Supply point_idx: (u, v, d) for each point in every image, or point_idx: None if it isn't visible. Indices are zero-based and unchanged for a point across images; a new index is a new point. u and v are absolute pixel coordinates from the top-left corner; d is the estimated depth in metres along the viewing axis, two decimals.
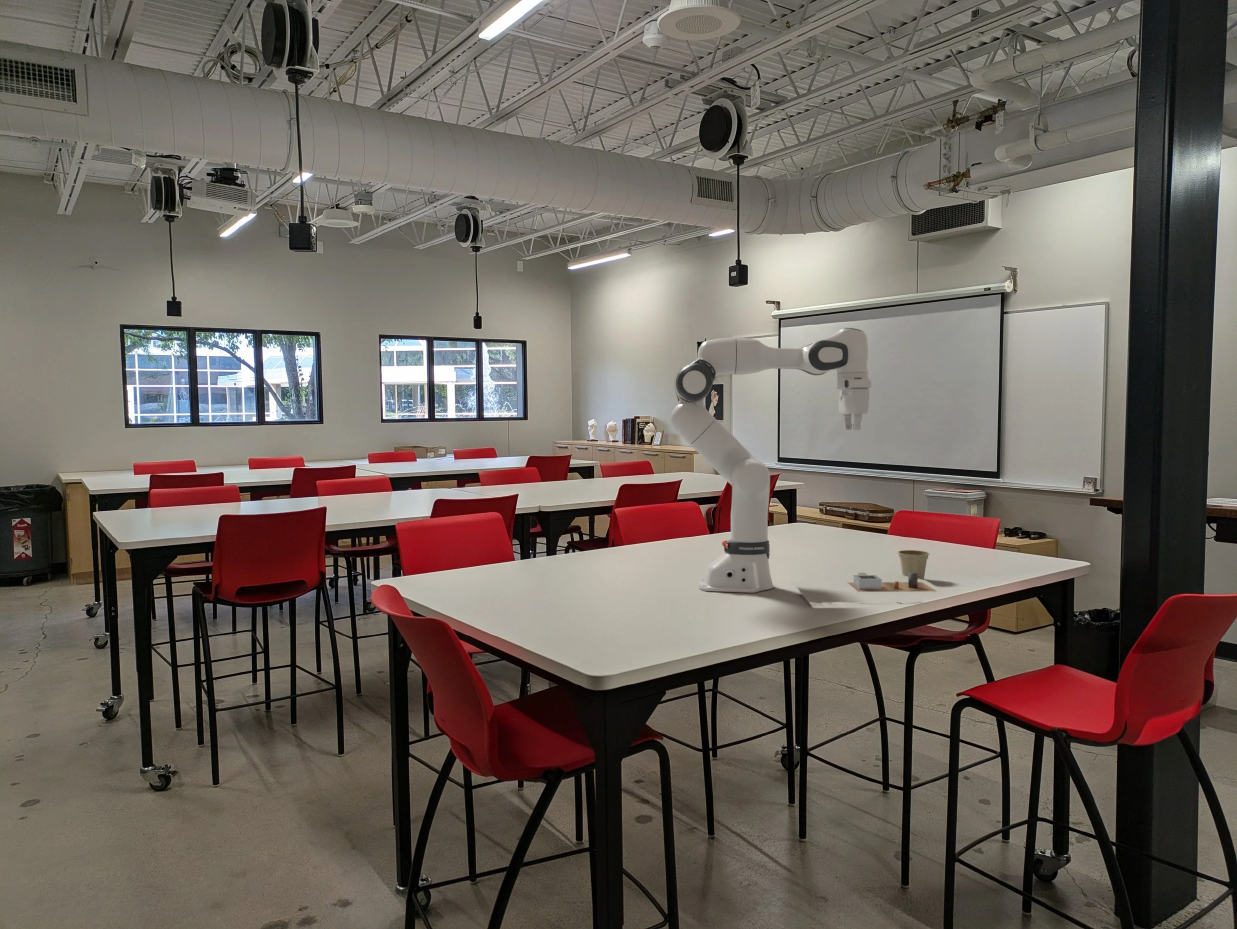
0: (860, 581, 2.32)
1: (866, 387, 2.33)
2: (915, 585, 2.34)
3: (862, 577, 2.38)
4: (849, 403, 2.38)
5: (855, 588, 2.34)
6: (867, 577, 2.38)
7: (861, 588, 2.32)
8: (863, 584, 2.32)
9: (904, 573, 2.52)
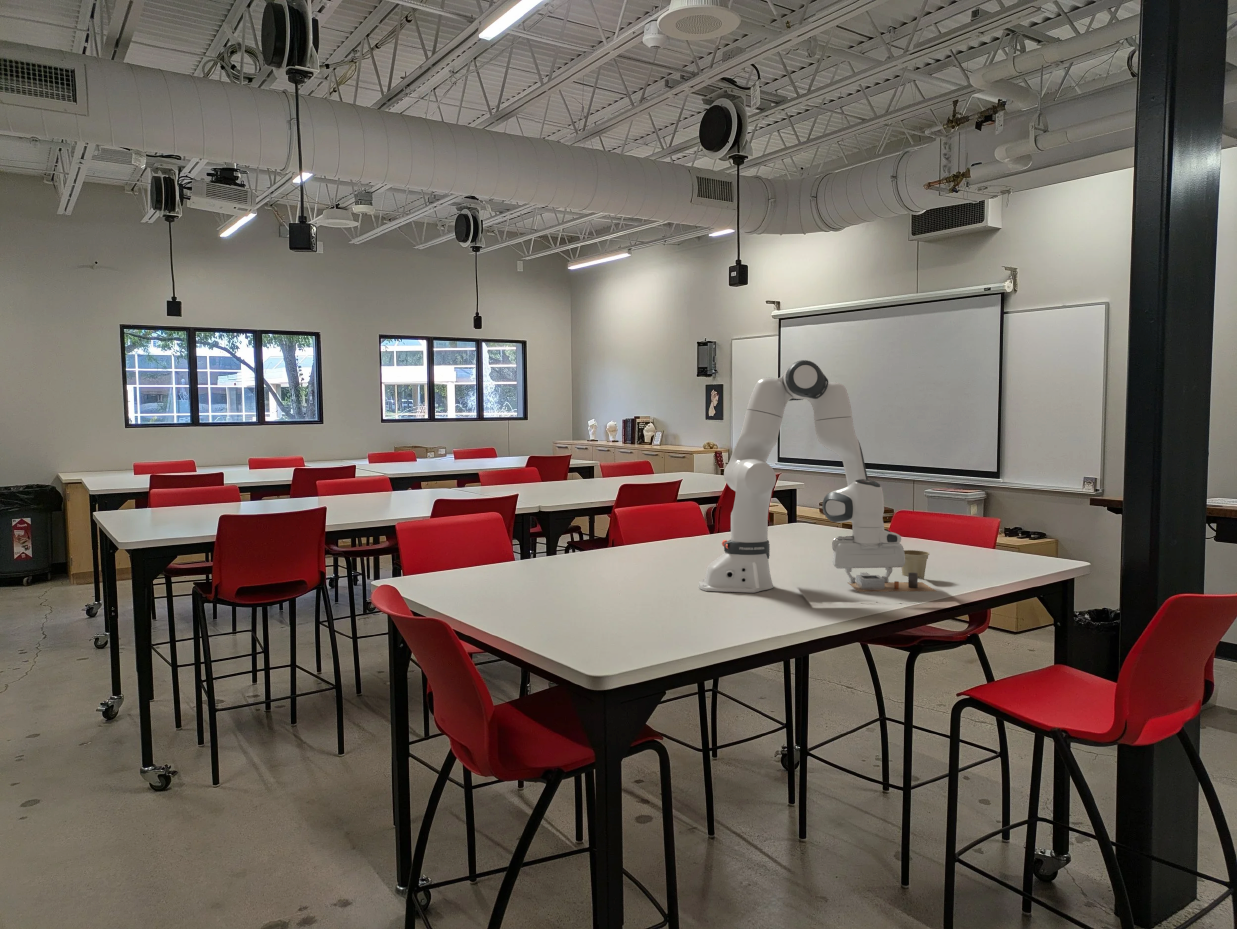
0: (863, 581, 2.32)
1: None
2: (915, 585, 2.34)
3: (865, 577, 2.38)
4: (881, 557, 2.34)
5: (855, 588, 2.34)
6: (870, 577, 2.38)
7: (864, 588, 2.32)
8: (866, 584, 2.32)
9: (904, 573, 2.52)
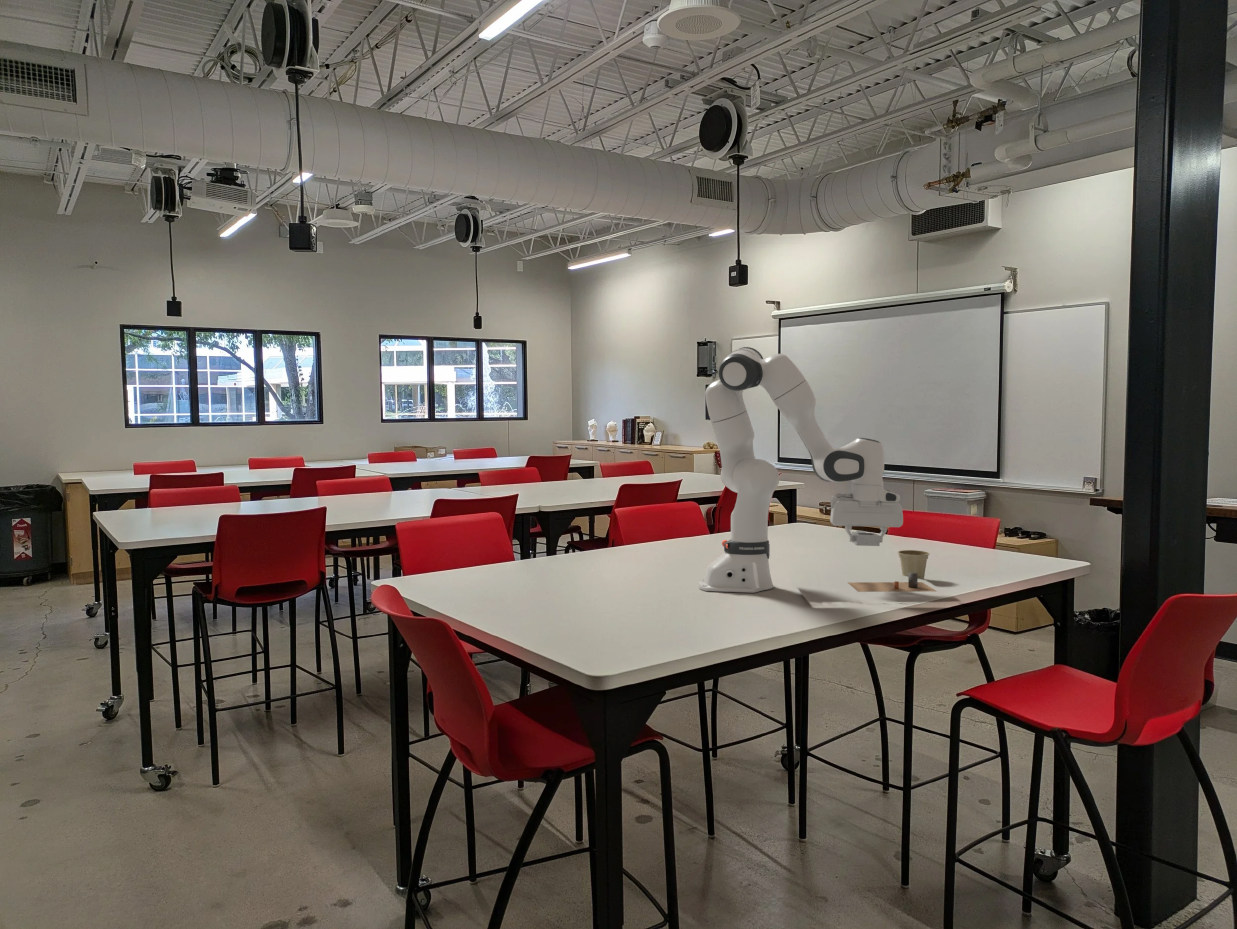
0: (858, 537, 2.32)
1: None
2: (915, 585, 2.34)
3: (860, 534, 2.37)
4: (879, 516, 2.33)
5: (855, 588, 2.34)
6: (865, 534, 2.37)
7: (859, 544, 2.32)
8: (861, 540, 2.32)
9: (904, 573, 2.52)
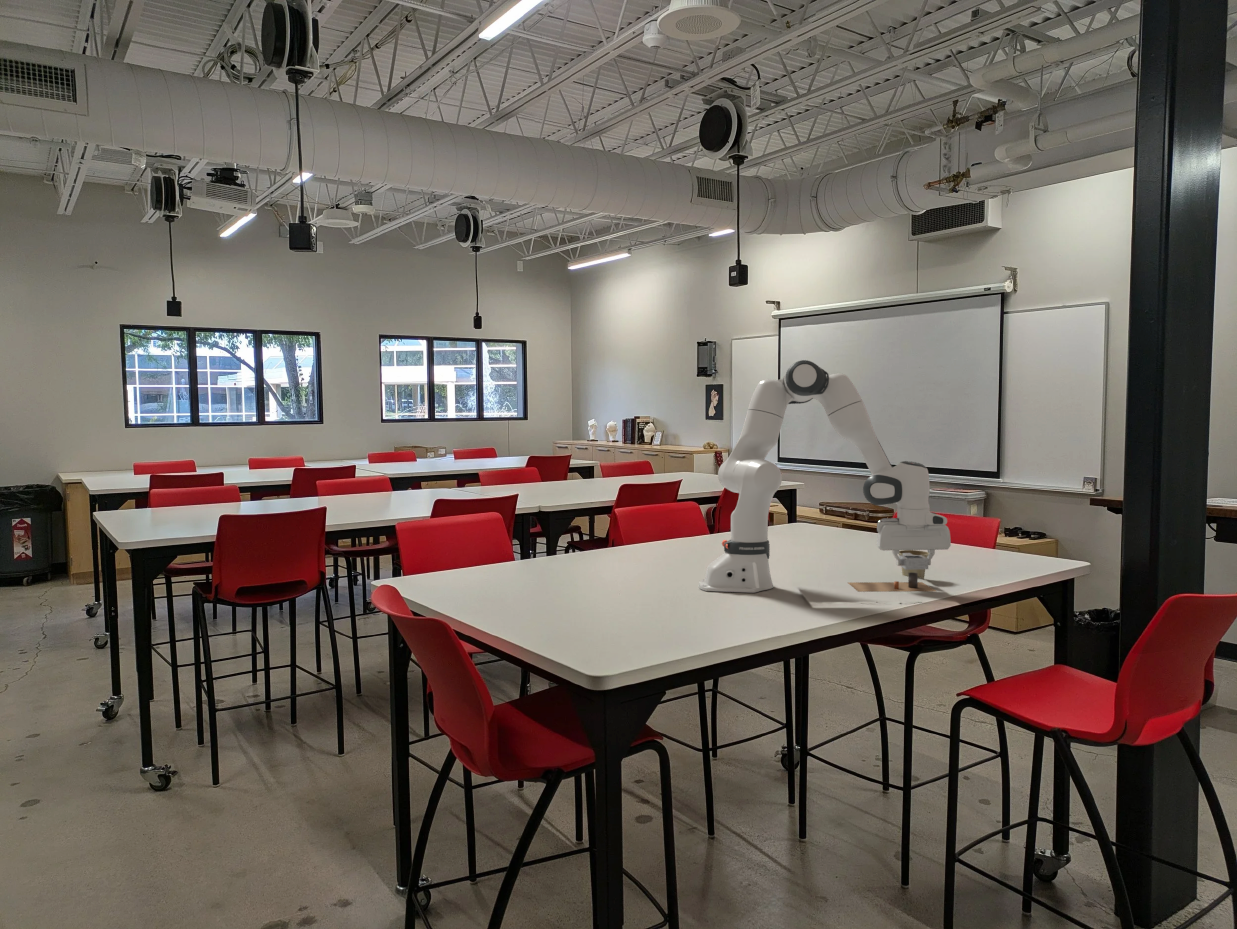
0: (907, 561, 2.32)
1: None
2: (915, 585, 2.34)
3: (908, 557, 2.37)
4: (927, 539, 2.33)
5: (855, 588, 2.34)
6: (913, 557, 2.37)
7: (908, 568, 2.32)
8: (910, 564, 2.32)
9: (904, 573, 2.52)
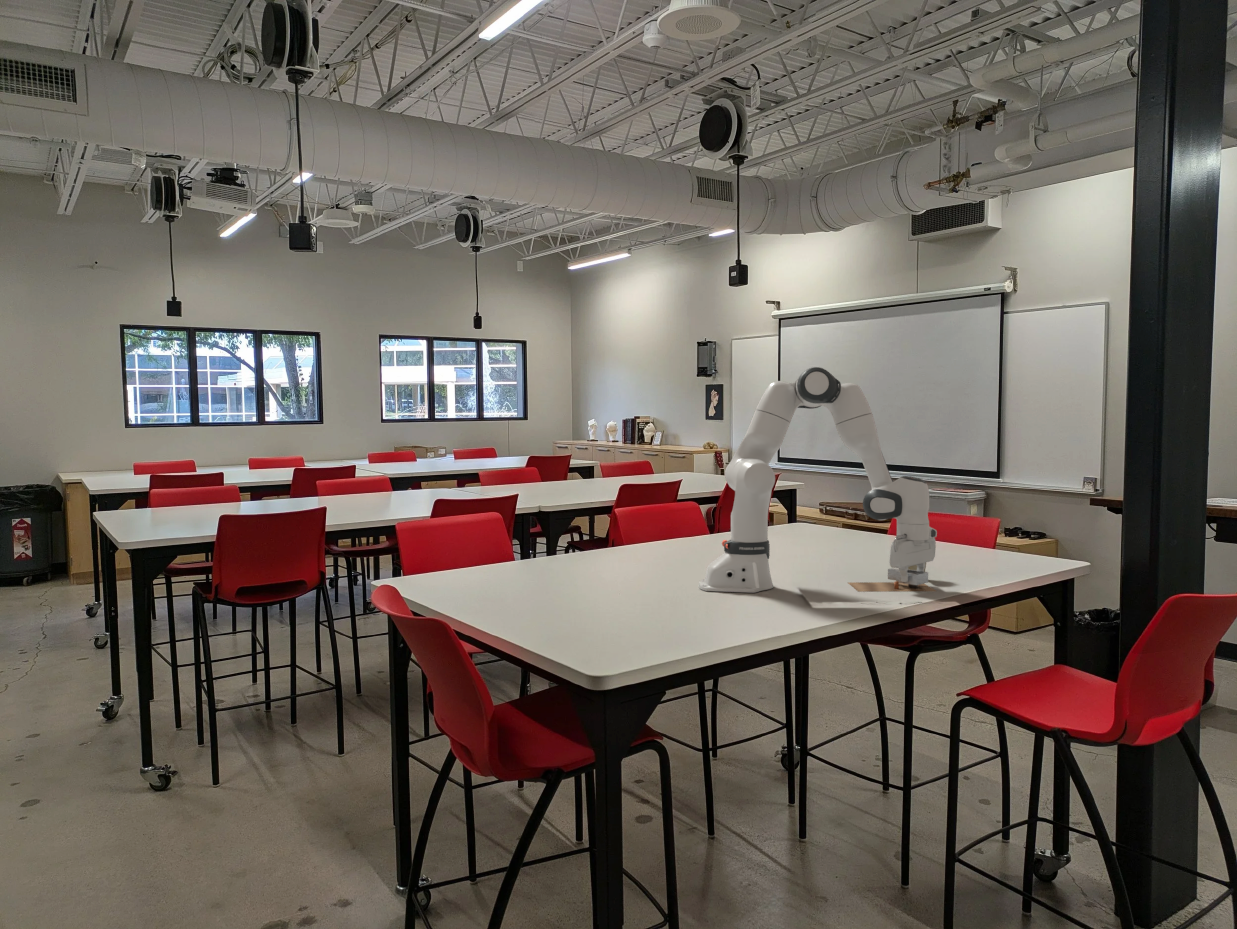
0: (917, 576, 2.31)
1: None
2: (915, 585, 2.34)
3: None
4: (924, 552, 2.36)
5: (855, 588, 2.34)
6: None
7: (918, 583, 2.31)
8: (919, 579, 2.31)
9: None
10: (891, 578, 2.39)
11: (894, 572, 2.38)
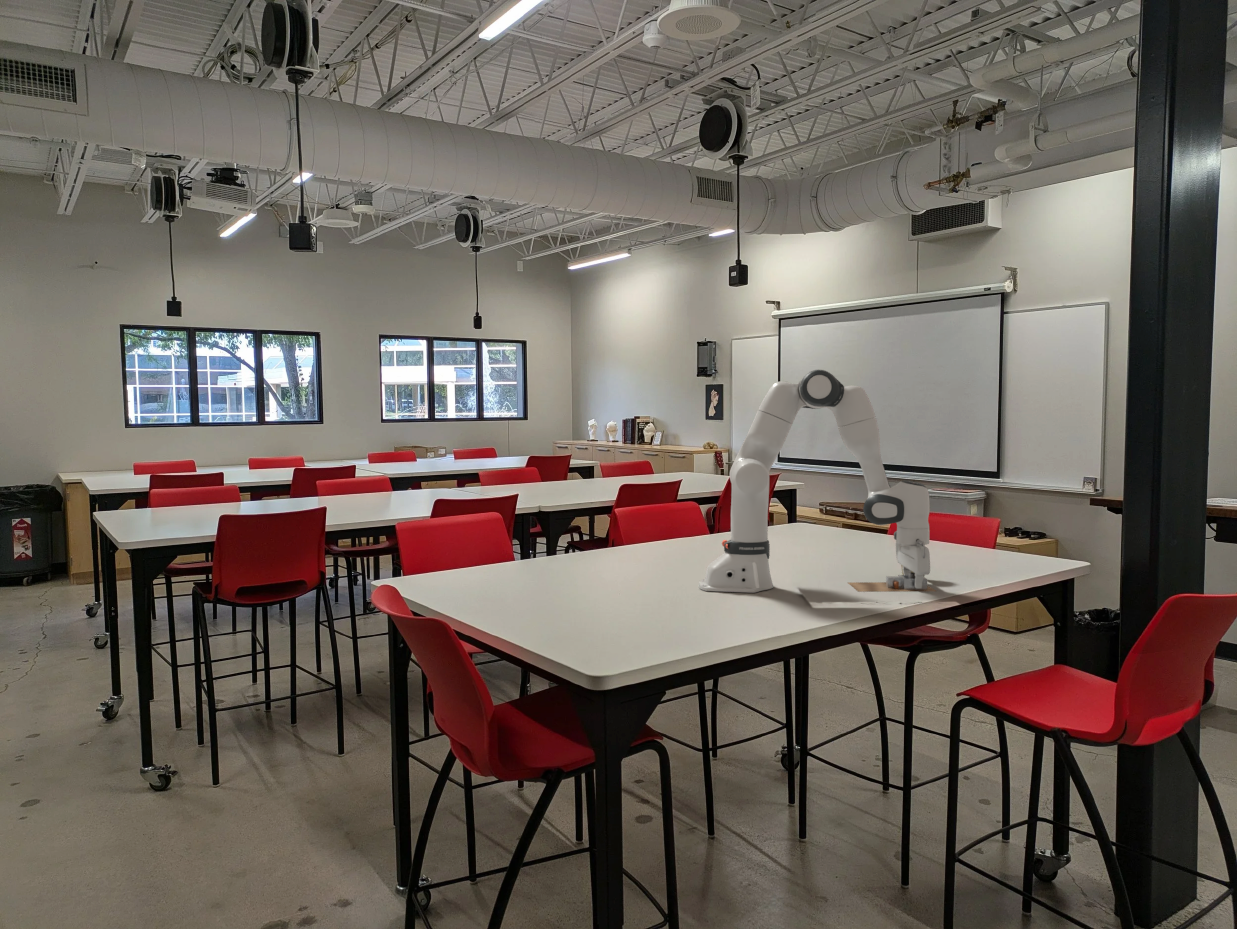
0: None
1: None
2: None
3: None
4: None
5: (855, 588, 2.34)
6: None
7: None
8: None
9: None
10: (892, 586, 2.34)
11: (895, 579, 2.34)
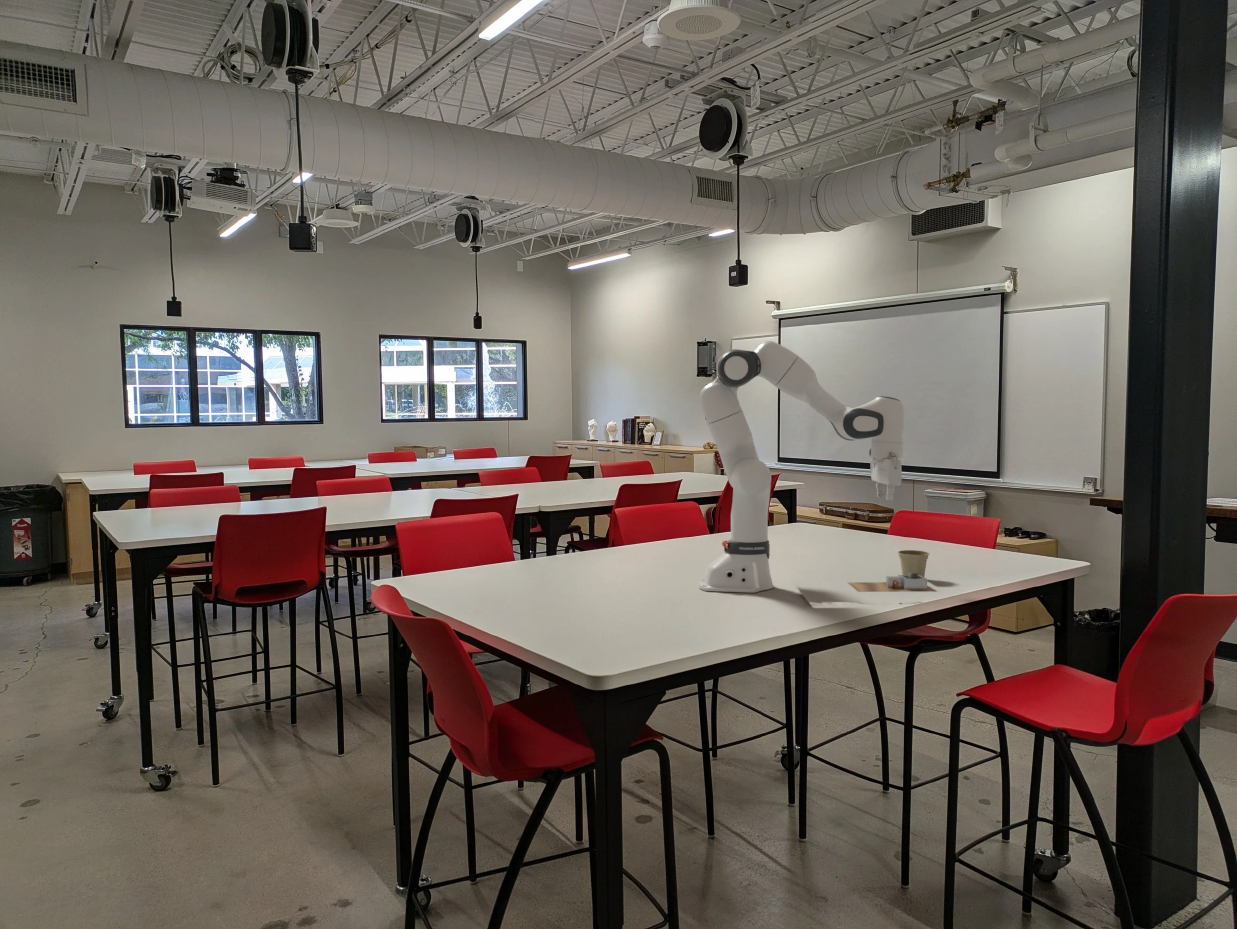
0: None
1: None
2: None
3: None
4: None
5: (855, 588, 2.34)
6: None
7: None
8: None
9: (904, 573, 2.52)
10: (892, 586, 2.34)
11: (895, 579, 2.34)
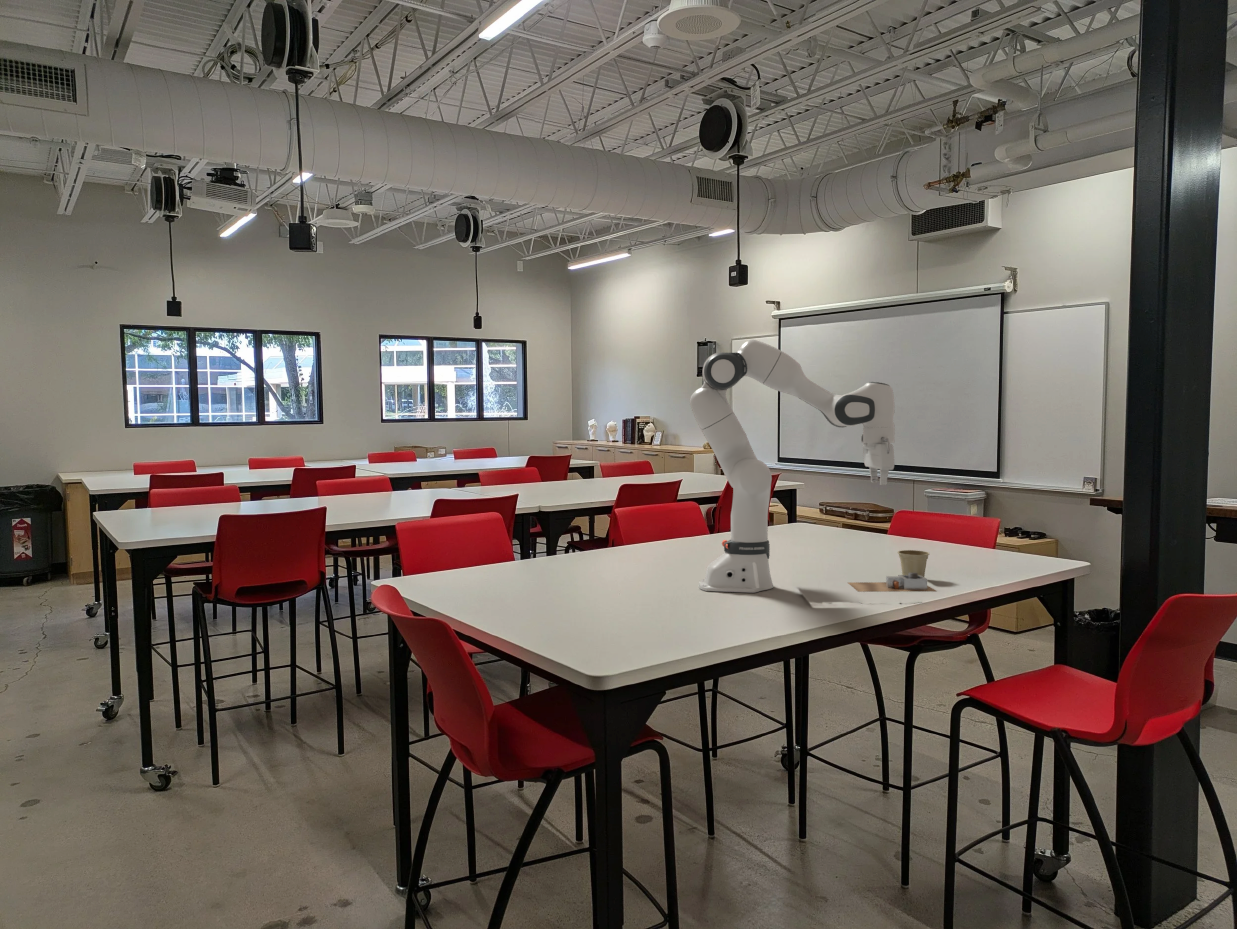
0: None
1: None
2: None
3: None
4: None
5: (855, 588, 2.34)
6: None
7: None
8: None
9: (904, 573, 2.52)
10: (892, 586, 2.34)
11: (895, 579, 2.34)
